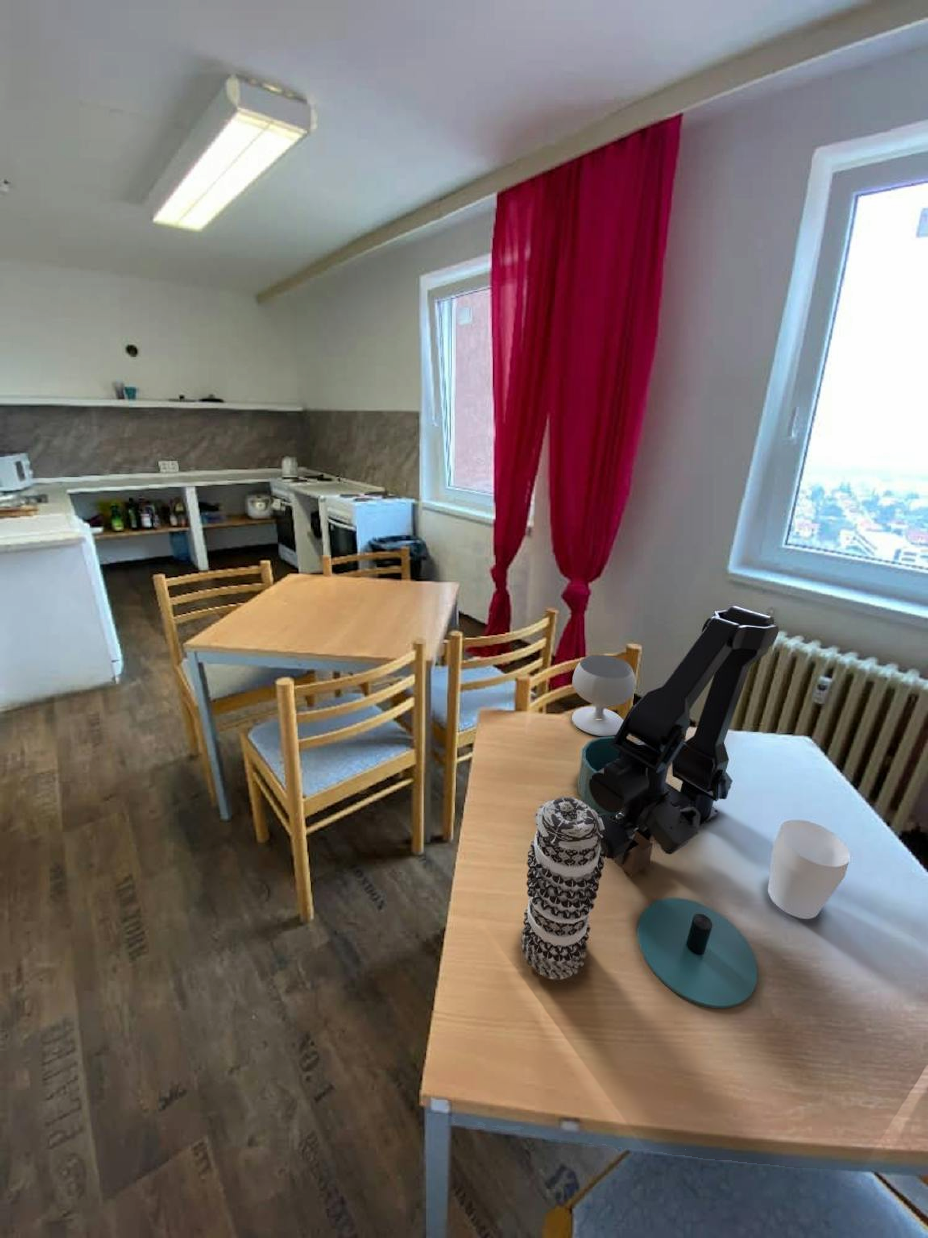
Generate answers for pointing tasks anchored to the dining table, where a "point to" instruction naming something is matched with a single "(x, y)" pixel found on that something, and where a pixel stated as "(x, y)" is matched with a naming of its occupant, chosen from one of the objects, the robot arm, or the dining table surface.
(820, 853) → the cup
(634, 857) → the block
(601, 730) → the chalice
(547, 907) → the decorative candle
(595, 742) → the bin
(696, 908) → the bin lid
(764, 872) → the dining table surface
